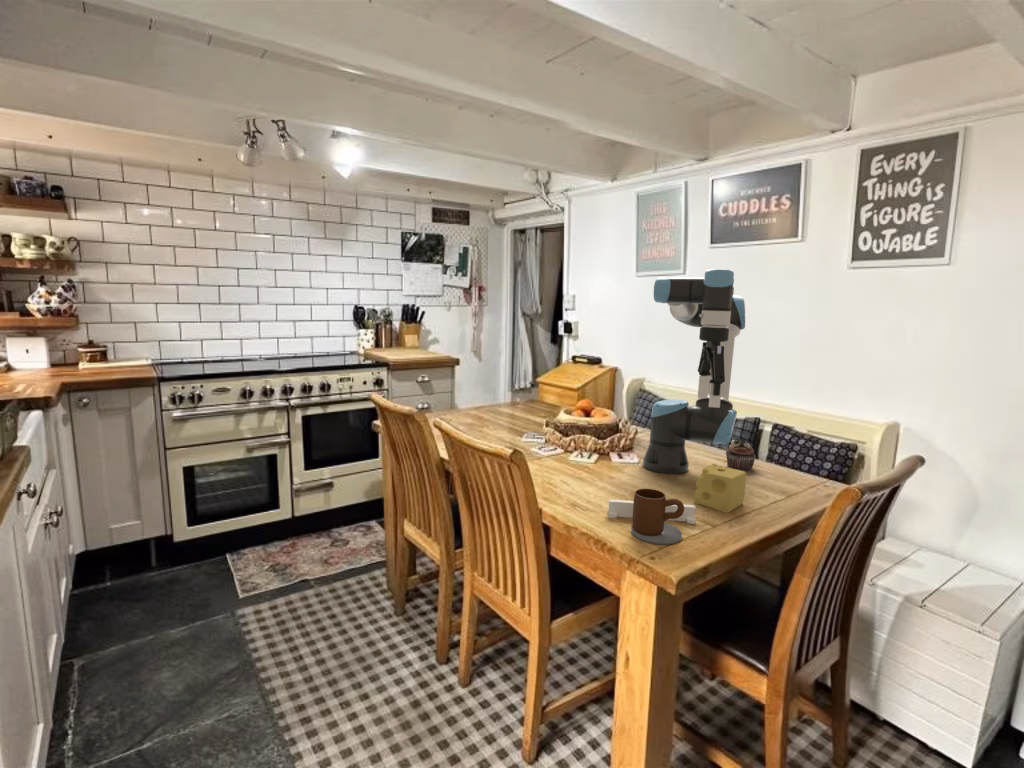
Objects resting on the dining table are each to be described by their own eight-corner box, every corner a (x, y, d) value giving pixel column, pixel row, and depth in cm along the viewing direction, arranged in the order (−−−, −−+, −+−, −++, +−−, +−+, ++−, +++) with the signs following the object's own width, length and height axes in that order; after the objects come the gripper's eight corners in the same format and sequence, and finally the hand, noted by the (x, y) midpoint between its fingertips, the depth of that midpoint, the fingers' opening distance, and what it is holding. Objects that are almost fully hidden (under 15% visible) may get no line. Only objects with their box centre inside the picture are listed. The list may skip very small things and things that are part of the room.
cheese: (693, 503, 155) (695, 469, 153) (710, 494, 162) (713, 462, 161) (728, 514, 148) (732, 479, 146) (745, 504, 155) (748, 470, 154)
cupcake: (758, 472, 184) (760, 444, 183) (728, 470, 186) (730, 442, 184) (750, 464, 194) (753, 437, 192) (721, 462, 195) (724, 435, 193)
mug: (684, 531, 134) (687, 494, 133) (679, 543, 127) (683, 504, 126) (635, 521, 139) (637, 486, 137) (628, 532, 132) (631, 495, 131)
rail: (607, 511, 147) (608, 497, 146) (691, 517, 144) (693, 503, 144) (608, 517, 143) (609, 503, 142) (695, 523, 140) (696, 509, 140)
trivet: (628, 522, 140) (629, 519, 140) (676, 525, 139) (676, 522, 139) (633, 542, 129) (634, 539, 128) (686, 546, 127) (686, 543, 127)
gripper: (691, 323, 162) (685, 393, 166) (711, 328, 138) (704, 410, 141) (717, 324, 161) (711, 395, 165) (742, 329, 137) (734, 412, 140)
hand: (708, 402), depth 153 cm, fingers open, 13 cm apart
